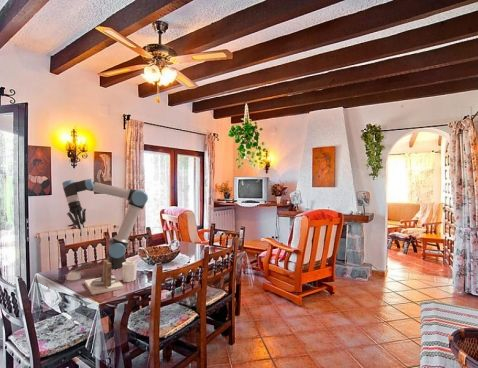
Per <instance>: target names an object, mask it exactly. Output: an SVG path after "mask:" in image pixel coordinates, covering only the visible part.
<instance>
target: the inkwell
mask: <svg viewBox="0 0 478 368" xmlns="http://www.w3.org/2000/svg"><path fill="white" fill-rule="evenodd" d="M91 265H95V263H94V262H85V263H83V264H81V265H80V266H78V267H77V268H76V269H74V270H71V271H69V272H68V273H67V276H66V281H77V280H80V279H82V275H81V274H82V273H81V272H80V271H81V270H82V269H83V268H87V267H88V266H91Z"/></svg>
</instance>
